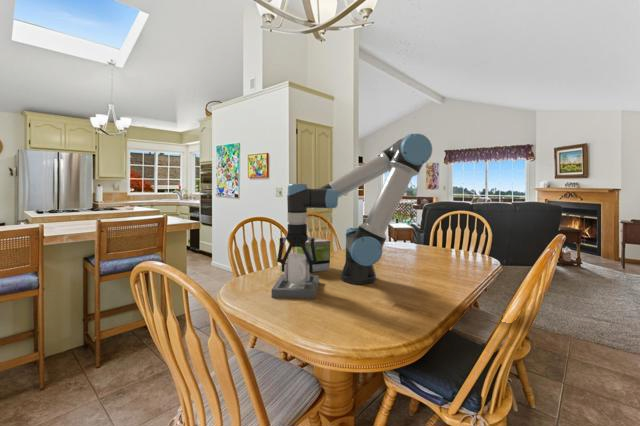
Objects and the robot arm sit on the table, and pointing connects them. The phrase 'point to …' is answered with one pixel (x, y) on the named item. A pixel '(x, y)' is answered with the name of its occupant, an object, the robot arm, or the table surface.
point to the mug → (297, 268)
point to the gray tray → (296, 288)
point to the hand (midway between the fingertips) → (297, 279)
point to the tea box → (318, 253)
